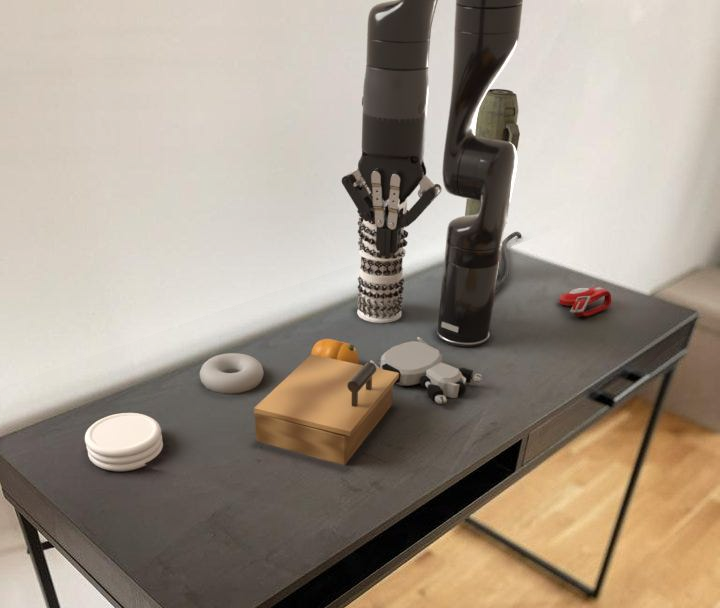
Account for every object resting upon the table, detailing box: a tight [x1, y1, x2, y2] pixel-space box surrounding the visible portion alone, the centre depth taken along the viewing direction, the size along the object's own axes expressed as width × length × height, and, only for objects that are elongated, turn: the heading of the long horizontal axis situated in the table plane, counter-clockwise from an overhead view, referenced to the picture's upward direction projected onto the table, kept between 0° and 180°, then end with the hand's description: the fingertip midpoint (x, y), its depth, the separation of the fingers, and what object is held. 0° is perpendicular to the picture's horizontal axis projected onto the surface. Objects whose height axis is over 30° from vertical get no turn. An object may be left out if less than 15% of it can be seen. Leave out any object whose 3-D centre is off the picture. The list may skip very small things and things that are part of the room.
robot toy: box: [369, 336, 483, 405], centre depth 121 cm, size 12×4×15 cm
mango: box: [310, 338, 360, 364], centre depth 123 cm, size 8×5×5 cm, turn 66°
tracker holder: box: [558, 286, 612, 317], centre depth 147 cm, size 12×4×10 cm
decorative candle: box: [356, 182, 409, 324], centre depth 136 cm, size 9×9×25 cm
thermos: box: [464, 88, 521, 277], centre depth 150 cm, size 9×12×35 cm
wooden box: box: [254, 384, 394, 466], centre depth 110 cm, size 14×18×5 cm
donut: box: [199, 352, 265, 395], centre depth 120 cm, size 10×4×10 cm
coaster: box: [84, 412, 164, 472], centre depth 103 cm, size 10×10×4 cm
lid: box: [253, 353, 399, 436], centre depth 106 cm, size 14×18×5 cm
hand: (387, 254), depth 99 cm, fingers closed
